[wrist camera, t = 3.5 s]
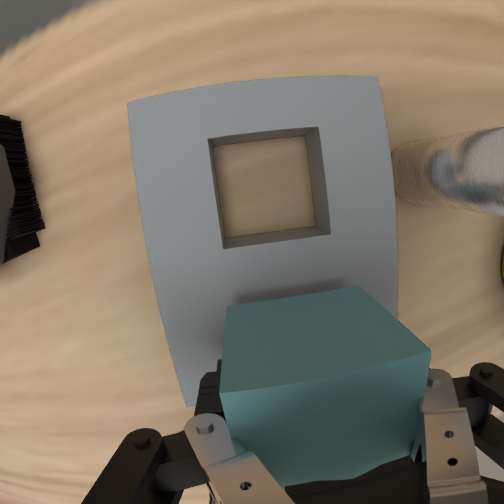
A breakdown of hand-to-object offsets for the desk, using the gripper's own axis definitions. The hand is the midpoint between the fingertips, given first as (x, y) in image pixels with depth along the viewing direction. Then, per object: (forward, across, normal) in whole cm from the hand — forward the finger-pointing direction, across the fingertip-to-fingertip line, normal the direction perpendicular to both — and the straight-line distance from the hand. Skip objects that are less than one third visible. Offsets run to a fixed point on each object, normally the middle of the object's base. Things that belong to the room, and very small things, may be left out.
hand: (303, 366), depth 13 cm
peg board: (+6, 0, -4) cm, 7 cm away
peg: (+6, -9, -7) cm, 13 cm away
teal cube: (+1, 0, 0) cm, 1 cm away
